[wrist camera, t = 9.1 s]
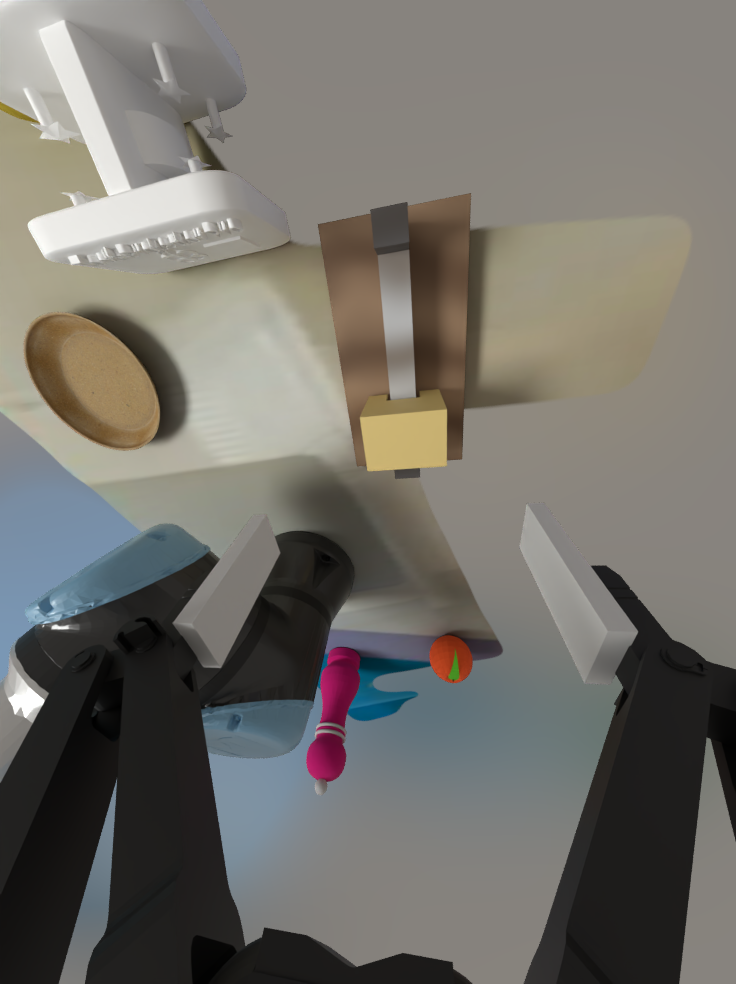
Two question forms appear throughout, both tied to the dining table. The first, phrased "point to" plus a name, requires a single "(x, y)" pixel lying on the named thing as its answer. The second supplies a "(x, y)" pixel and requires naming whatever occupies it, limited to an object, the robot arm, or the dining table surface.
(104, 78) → the cable organizer
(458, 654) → the clementine
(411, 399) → the slider
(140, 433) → the plant saucer
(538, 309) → the dining table surface
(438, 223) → the rail board
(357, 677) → the pepper mill
